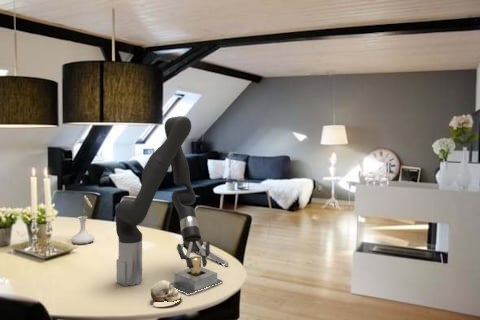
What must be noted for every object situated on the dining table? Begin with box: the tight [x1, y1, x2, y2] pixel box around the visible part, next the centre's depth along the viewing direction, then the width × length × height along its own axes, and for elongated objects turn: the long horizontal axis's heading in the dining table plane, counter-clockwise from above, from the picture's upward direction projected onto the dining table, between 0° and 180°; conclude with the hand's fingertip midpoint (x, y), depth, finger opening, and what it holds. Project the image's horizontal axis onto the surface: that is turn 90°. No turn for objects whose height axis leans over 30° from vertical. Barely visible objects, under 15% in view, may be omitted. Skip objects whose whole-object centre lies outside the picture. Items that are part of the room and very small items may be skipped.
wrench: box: [196, 245, 230, 267], centre depth 196 cm, size 8×2×30 cm
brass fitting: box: [189, 255, 202, 277], centre depth 163 cm, size 4×4×10 cm
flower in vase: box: [71, 195, 95, 245], centre depth 217 cm, size 13×11×25 cm
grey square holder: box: [170, 266, 223, 294], centre depth 163 cm, size 18×12×5 cm, turn 137°
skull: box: [150, 279, 183, 305], centre depth 148 cm, size 12×10×10 cm
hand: (197, 266), depth 161 cm, fingers open, 5 cm apart
